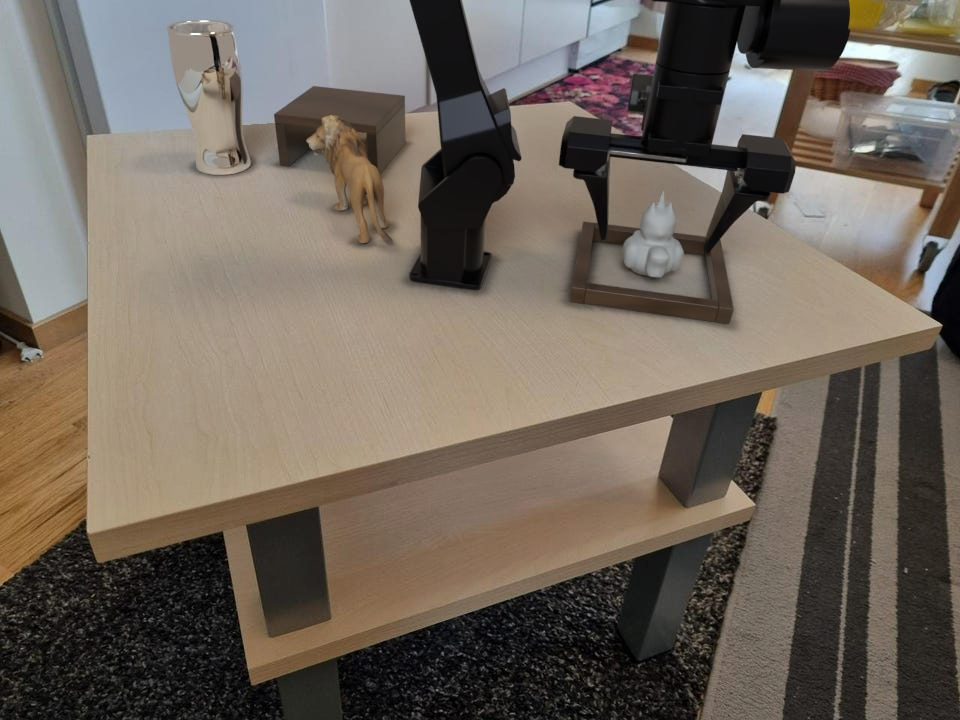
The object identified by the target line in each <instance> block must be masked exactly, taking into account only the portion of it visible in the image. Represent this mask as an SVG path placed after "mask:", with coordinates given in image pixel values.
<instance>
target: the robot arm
mask: <svg viewBox="0 0 960 720" xmlns="http://www.w3.org/2000/svg"><path fill="white" fill-rule="evenodd" d="M651 1H652V2H657V3H666V5H665V10H664V14H663V21H662V25H661V26H662V27H661V32H660V36H659V42H658V48H657V52H656V57H655V62H654V63H655V64H654V69H653V75H651V74H639V73H633V74H632V75H631V76H632V77H631V83H630V89H629V95H628V101H627V107H626V112H627V113H629V114H630V113H631V114H637V115H639V114H640V115H642V121H641V126H640V130H641V132H642V134H641V135H640V136H639V135H631V134H621V133H614V132H612V127H613V120H612V119H605V118H595V117H587V116H586V117H585V116H577V115H573V116H572V117H571V118H570V119H569V120H567V121H566V123H565V127H564V130H563V134H562V137H561V143H560V149H559V158H558V166H560V167H561V168H564V169H566V170H567V169H569V170H573V172H572V177H573V178H574V179H576V180H580V181H581V180H582V181H584V184H585V187H586V189H587V191H588V194H589V197H590V199H591V202H592V205H593V208H594V212H595V218H596V223H598V228H599V232H600V237H601V240H604V241H605V240H606V235H607V229H608V224H609V218H610V217H609V216H610V215H609V213H610V212H609V210H610V180H611V179H610V175H611V174H610V173H611V158H616V159H626V160H635V161H641V162H642V161H643V162H651V163H652V162H653V163H660V164H669V165H677V166H685V167H686V166H687V167H696V168H704V169H712V170H720V171H721V170H722V171H726V174H725V179H724V183H723V186H722V190H721V193H720V196H719V199H718V201H717V204H716V207H715V209H714V213H713V215H712V217H711V220H710V223H709V225H708V228H707V231H706V234H705V237H706V238H705V242H704V247H703V251H704V253H705V254H708V253H709V252H710V251H711V250H712V249H713V247H714V246H715V245H716V244H717V242H718V241H719V240H721V239H722V238H723V237H724V235H725V234H726V233H727V232H728V230H729V229H730V228H731V227H732V226H733V224H734V223H735V222H737V220H738V219H739V218H741V216H742V215H744V214H745V213H746V212H747V211H748V210H749V209H750V208H751V207H752V206H753V205H754V204H756V203H757V202H759V201H760V202H767V201H769V200H770V198H771V194H772V193H773V194H774V193H775V194H783V195H784V194H787V193H790V190H791V187H792V183H793V180H794V177H795V174H796V169H797V162H796V160H795V157H794V156H793V154H792V151H791V150H790V147H789V145H788V144H787V141H785V139H784V138H782V137H773V136H764V135H763V136H762V135H755V134H754V135H753V134H745V133H742V134H741V136H740V137H739V139H738V141H737V145H736V146H731V145H723V144H713V141H714V137H715V134H716V129H717V125H718V120H719V116H720V114H721V110H722V104H723V101H724V96H725V92H726V89H727V84H728V81H729V76H730V72H731V68H732V63H733V59H734V55H735V51H736V48H737V50H738V52H739V53H740V54H742V55H745V58H746V62H747V63H748V66H749V67H750V68H751V69H762V70H764V69H765V70H786V71H787V70H789V71H807V72H808V71H810V72H811V71H812V72H827V71H828V70H829V71H830V70H831V69H832V68H833V67H834V66H835V65H836V64H837V62H838V61H839V60H840V58H841V56H842V55H843V53H844V51H845V48H846V46H847V44H848V42H849V37H850V35H851V28H849V26H850V22H851V5H850V0H651ZM409 4H410V7H411V10H412V15H413V18H414V21H415V25H416V28H417V29H416V30H417V31H418V35H419V39H420V43H421V46H422V49H423V52H424V56H425V60H426V63H427V67H428V70H429V75H430V78H431V81H432V85H433V89H434V92H435V97H436V107H437V118H438V120H437V121H438V130H439V141H440V142H439V143H440V149H438V151H437V152H435V153H434V154H433V155H432V156H431V157H430V158H429V159H428V160H426V161H425V162H424V163H423V164H422V165H421V170H420V178H419V179H420V181H419V190H418V191H419V192H418V201H417V208H418V211H419V213H420V214H419V215H420V254H419V256H418V257H417V258H416V261H415V262H414V264H413V266H412V268H411V270H410V272H409V274H408V277H409V278H408V279H409V281H412V282H419V283H424V284H425V283H426V284H431V285H432V284H433V285H438V286H439V285H440V286H446V287H447V286H448V287H454V288H460V289H468V290H480V289H481V287H482V285H483V282H484V279H485V277H486V274H487V271H488V269H489V266H490V263H491V261H492V253H491V252H489V251H484V249H485V231H486V219H487V217H488V214H489V212H490V210H491V208H492V205H493V204H494V203H496V202H499V201H500V200H501V199H502V198H503V197H505V196H506V195H507V193H508V192H509V191H510V189H511V187H513V185H514V183H515V178H516V170H515V169H516V168H515V161H516V162H521V161H522V153H521V148H520V143H519V140H518V135H517V131H516V128H515V127H514V126H513V124H512V115H511V114H512V113H511V108H510V103H509V98H508V93H507V89H506V88H504V87H503V88H500V89H499V90H497V91H495V92H493V93H491V92H490V91H489V88H488V86H487V85H486V81H485V80H484V78H483V76H482V74H481V71H480V69H479V64H478V61H477V58H476V52H475V49H474V48H475V47H474V44H473V40H472V36H471V32H470V27H469V23H468V19H467V16H466V11H465V8H464V3H463V0H409Z"/></svg>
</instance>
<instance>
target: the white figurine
mask: <svg viewBox="0 0 960 720" xmlns="http://www.w3.org/2000/svg"><path fill="white" fill-rule="evenodd" d="M659 197H660V198H659V199H658V202H657V203H656V201H652V203H651V204H650V205H649V206H648V207H647V208H646V209H644V211H643V213H642V215H641V219H640V223H639V228H640V229H641V230H637V231H635V232H634V233H633V235H632V236H631V237H629V238H628V239H627V240H626V241H625V242H624V245H622V259H623V263H624V265H625V267H626V268H628V269H630V270H631V271H632V272H634V273H636V274H637V275H642V276H648V277H649V278H657V279H658V278H660V279H661V278H663V277H664V276H665V274H666V275H667V274H668V273H669V272H675V271H677V270H678V269H679V268H680V267H681V265H682V262H683V259H684V258H685V257H684V256H685V253H684V251H683V249H682V246H681V244H680V242H679V241H678V240H676V239H674V238H673V236H672V235H673V233H675V230H676V225H677V215H676V212H675V210H674V209H675V208H674V205H673V203H672V201H671V202H668V203H667V204H666V197H665V191H664V190H663V191H662V193H661V195H660V196H659Z"/></svg>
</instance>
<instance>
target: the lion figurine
mask: <svg viewBox="0 0 960 720" xmlns="http://www.w3.org/2000/svg"><path fill="white" fill-rule="evenodd" d="M361 139H362V138H361V136H360V134H358V132H356V131H355V129H353V128H352V127H351V125H350V124H349V123H347V122H346V120H344V119H342V118H340V117H339V116H336V115H335V116H333V115H329V116H326V117H323V118H322V126H321V127H319V128H318V129H317V131H316V133H314V134H313V135H312V136H310V137H309V138H308V139H307V140H306V141H307V143H309V146H310V148H309V149H311V150H312V152H313V155H314V156H320V155H324V161H325V163H328V166H329V169H330V171H331V174H332V175H333V176H334V186H335V191H336V194H337V197H338V202H337V203H335V204H334V207H333V209H334V210H335V211H337V212H343V211H344V212H345V211H347V210H348V208H349V199H348V197H347V189H346V188H349V191H350V192H349V193H350V203H351V207H352V211H353V214H354V217H355V219H356V221H357V225H358V229H359V234H358V235H357V238H356V240H357V243H359V244H367V243H368V242H369V241H370V234H369V228H368V223H367V221H366V219H365V215H364V206H366V205H368V208H369V212H370V217H371V221H372V223H373V226H374V228H375V230H376V231H377V232H378V234H379V235H380V237H381V238H382V240H383V242H384V243H387V244H393V243H394V240H393V238H392V237H391V236H390V235H389V234H388V233H387V232H386V231H385V230H384V229H387V228H388V227H389V225H390V223H389V221H388V220H386V215H385V207H384V206H385V189H384V183H383V179H382V176H381V173H380V174H379V172H378V169H377V168H376V167H375V166H374V165H372V164H371V163H370V161H369V160H368V159H367V147H366V144H365V143H364V142H363V141H362V140H361Z"/></svg>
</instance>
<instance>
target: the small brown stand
mask: <svg viewBox="0 0 960 720" xmlns="http://www.w3.org/2000/svg"><path fill="white" fill-rule="evenodd" d="M329 115H333V116H335V115H336V116H339V117H340V118H342V119H344V120H346V122H347V123H349V124H350V125H351V127H352V128H353V129H355V131H356V133H362V134H365V138H366V150H367V159H368V160H369V161H370V163H371V164H372V165H374V166H375V167H376V168H377V169H378V172H379V174H380V175H381V174H382V172H383V171H384V170H385V169H386V167H387V166H388V165H389V164H390V162H392V160H393V159H394V157H395V156H397V155H398V152H400V150H401V149H402V148H403V147H404V145H406V141H407V140H406V95H403V94H402V95H401V94H392V93H384V92H375V91H364V90H357V89H356V90H355V89H346V88H337V87H326V86H317V85H313V86H311V87H309V88H308V89H306V90H305V91H304V92H303V93H301V94H300V95H298V96H297V97H295V98H294V99H293V100H292V101H290V102H288V103H287V104H286V105H285V106H283V107H282V108H281V109H279V110H278V111H276V112H275V113H273V118H274V127H275V134H276V144H277V153H278V160H279V165H280V166H284V167H290V166H292V164H294V163H295V162H296V161H297V160H298V159H299V158H301V156H303V155H304V154H305V153H306V152H307V151H308V150H309V149H311V148H310V146H309V143H307V141H306V140H307V139H308V138H309V137H310V136H312V135H313V134H314V133H316V131H317V129H318V128H319V127H321V126H322V118H323V117H326V116H329Z"/></svg>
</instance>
